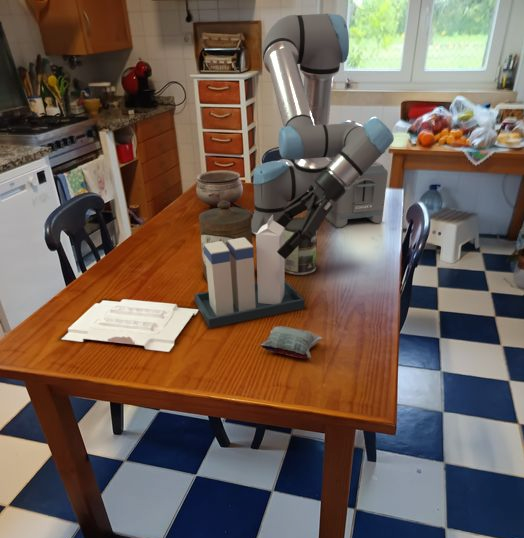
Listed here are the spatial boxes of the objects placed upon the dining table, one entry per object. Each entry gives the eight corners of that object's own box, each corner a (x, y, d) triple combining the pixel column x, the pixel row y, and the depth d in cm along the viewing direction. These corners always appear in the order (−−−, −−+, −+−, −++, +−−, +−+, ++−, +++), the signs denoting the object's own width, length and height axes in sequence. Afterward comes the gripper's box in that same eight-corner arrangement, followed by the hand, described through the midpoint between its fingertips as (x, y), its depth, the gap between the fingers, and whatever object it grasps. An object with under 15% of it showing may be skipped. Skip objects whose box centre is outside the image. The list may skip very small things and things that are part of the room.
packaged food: (274, 335, 115) (274, 317, 113) (322, 345, 111) (323, 327, 108) (259, 354, 109) (258, 336, 106) (309, 366, 105) (310, 347, 102)
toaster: (339, 232, 172) (343, 172, 161) (310, 204, 199) (311, 152, 188) (387, 226, 176) (394, 167, 164) (352, 200, 203) (356, 148, 191)
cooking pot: (237, 216, 189) (235, 184, 183) (190, 215, 192) (187, 183, 185) (248, 197, 210) (247, 168, 203) (205, 196, 213) (203, 167, 206)
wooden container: (195, 281, 141) (187, 206, 129) (217, 262, 152) (211, 191, 140) (243, 288, 136) (239, 211, 124) (261, 268, 148) (259, 195, 136)
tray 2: (102, 300, 133) (100, 288, 131) (199, 312, 128) (198, 300, 126) (60, 339, 116) (56, 326, 114) (170, 355, 111) (168, 342, 109)
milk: (258, 303, 128) (254, 221, 116) (263, 293, 133) (260, 213, 120) (280, 305, 127) (279, 223, 114) (285, 294, 131) (284, 214, 119)
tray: (195, 302, 130) (194, 294, 129) (282, 285, 137) (282, 277, 136) (209, 328, 119) (208, 319, 117) (304, 308, 126) (304, 299, 125)
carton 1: (209, 305, 128) (203, 243, 118) (226, 301, 129) (221, 240, 120) (216, 316, 122) (210, 253, 113) (233, 313, 124) (229, 250, 114)
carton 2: (231, 300, 129) (227, 239, 120) (247, 297, 131) (244, 237, 121) (239, 311, 124) (235, 249, 115) (255, 308, 125) (253, 246, 116)
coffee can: (317, 262, 151) (319, 217, 143) (314, 276, 142) (315, 229, 134) (285, 260, 152) (285, 216, 145) (279, 274, 144) (279, 228, 136)
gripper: (364, 205, 107) (297, 274, 113) (331, 176, 127) (275, 236, 134) (343, 182, 103) (274, 255, 110) (312, 157, 124) (256, 219, 130)
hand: (275, 245), depth 122 cm, fingers open, 13 cm apart
